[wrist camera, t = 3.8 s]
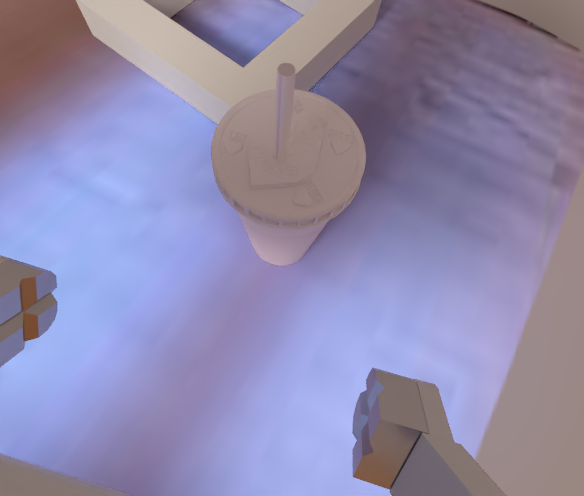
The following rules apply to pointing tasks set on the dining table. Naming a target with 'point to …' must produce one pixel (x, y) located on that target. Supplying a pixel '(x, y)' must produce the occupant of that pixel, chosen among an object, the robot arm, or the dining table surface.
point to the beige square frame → (216, 66)
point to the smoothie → (287, 166)
